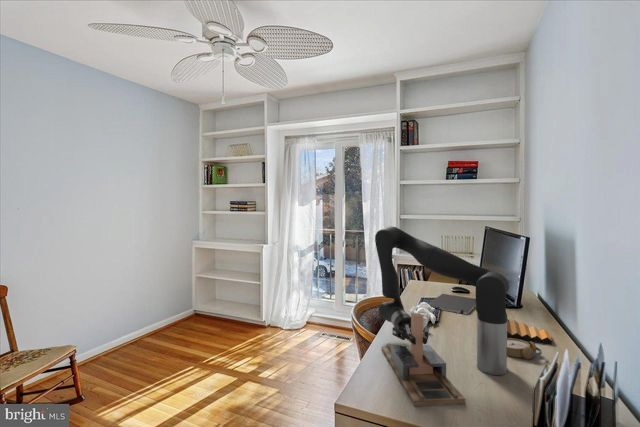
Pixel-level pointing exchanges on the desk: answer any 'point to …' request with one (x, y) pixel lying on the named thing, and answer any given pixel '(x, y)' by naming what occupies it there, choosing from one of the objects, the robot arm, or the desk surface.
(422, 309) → the figure
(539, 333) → the orange corrugated panel
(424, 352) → the tunnel
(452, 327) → the desk surface
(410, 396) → the track board
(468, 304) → the notebook
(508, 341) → the alarm clock
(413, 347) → the pink post on block
